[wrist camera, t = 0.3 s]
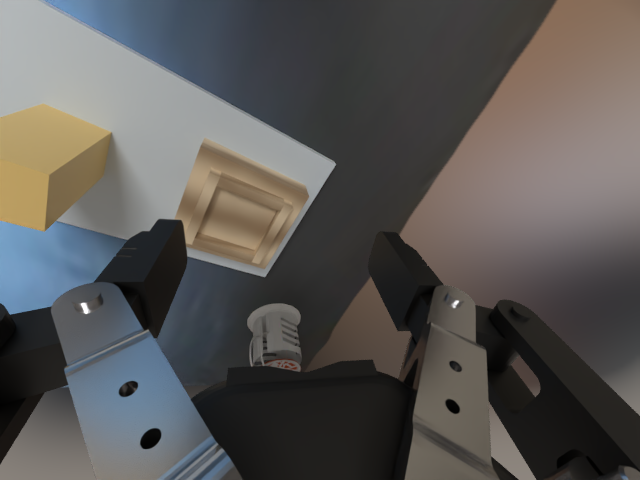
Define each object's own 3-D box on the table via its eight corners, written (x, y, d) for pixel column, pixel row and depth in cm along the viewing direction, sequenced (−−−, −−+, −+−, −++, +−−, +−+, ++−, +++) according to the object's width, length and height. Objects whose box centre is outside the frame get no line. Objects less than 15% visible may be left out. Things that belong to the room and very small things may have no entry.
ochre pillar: (43, 103, 23) (-64, 137, 15) (111, 132, 25) (49, 174, 18) (40, 154, 25) (-55, 206, 17) (103, 176, 28) (44, 231, 20)
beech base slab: (204, 137, 27) (198, 151, 24) (305, 185, 33) (311, 201, 29) (172, 226, 32) (163, 247, 29) (263, 254, 38) (265, 275, 35)
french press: (265, 343, 53) (272, 523, 33) (229, 313, 45) (211, 521, 26) (309, 323, 51) (344, 497, 32) (280, 289, 44) (301, 488, 25)
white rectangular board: (-47, -50, 18) (-61, -54, 17) (334, 161, 33) (336, 164, 32) (-30, 190, 27) (-38, 195, 26) (264, 272, 41) (265, 277, 41)
